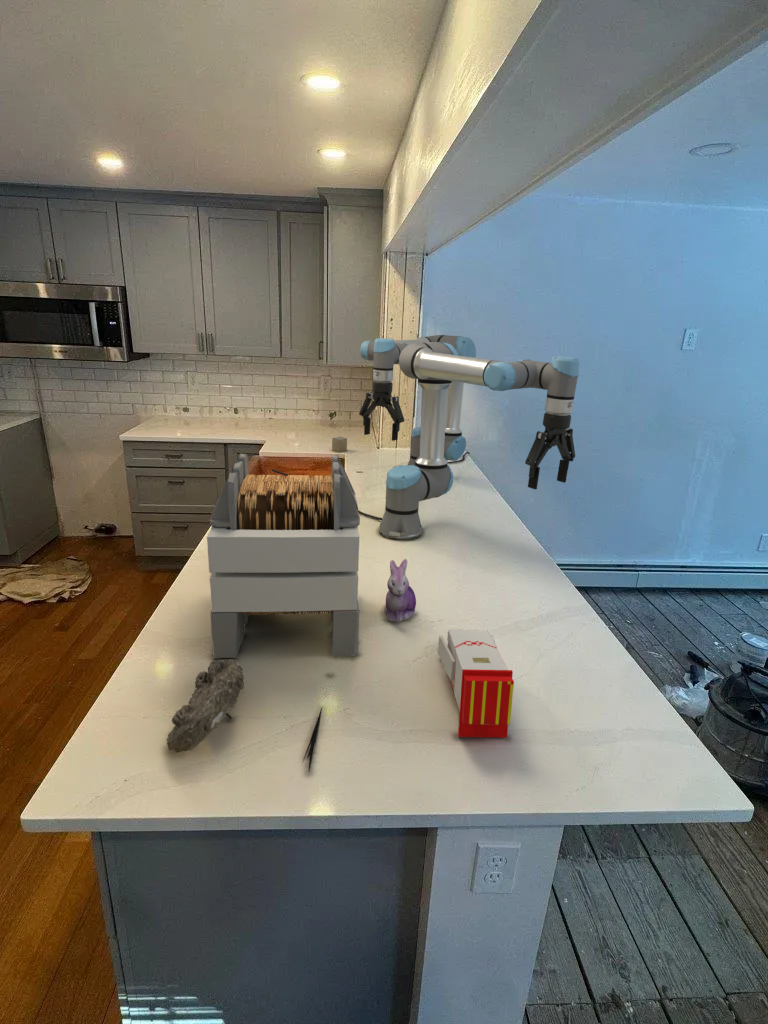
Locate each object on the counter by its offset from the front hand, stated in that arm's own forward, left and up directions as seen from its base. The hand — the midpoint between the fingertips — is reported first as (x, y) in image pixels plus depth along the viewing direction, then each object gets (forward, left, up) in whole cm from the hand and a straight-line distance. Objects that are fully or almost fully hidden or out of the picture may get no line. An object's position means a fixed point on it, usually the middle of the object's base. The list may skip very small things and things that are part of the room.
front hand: (547, 484), depth 168 cm
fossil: (+3, -108, -28) cm, 111 cm away
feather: (+16, -92, -28) cm, 97 cm away
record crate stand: (-19, -77, -28) cm, 84 cm away
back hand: (-75, -1, 0) cm, 75 cm away
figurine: (-5, -53, -28) cm, 60 cm away
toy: (+28, -62, -28) cm, 74 cm away
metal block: (-155, +39, -28) cm, 162 cm away
